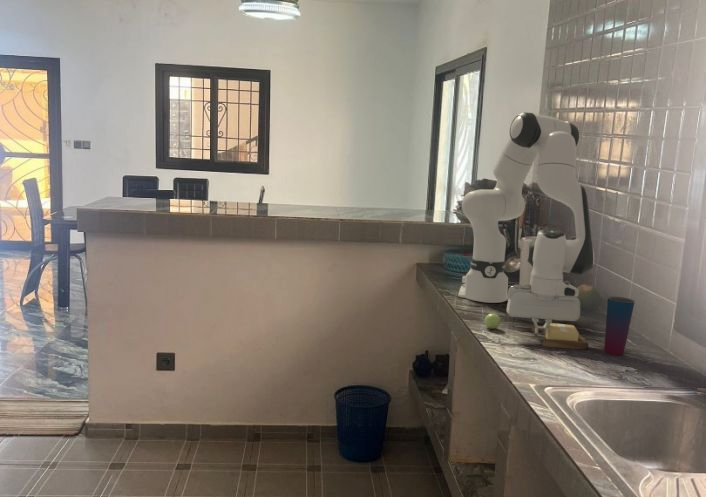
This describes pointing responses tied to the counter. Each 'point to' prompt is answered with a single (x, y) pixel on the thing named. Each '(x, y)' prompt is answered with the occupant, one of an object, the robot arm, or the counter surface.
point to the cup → (617, 324)
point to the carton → (562, 332)
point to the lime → (492, 321)
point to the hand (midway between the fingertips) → (540, 333)
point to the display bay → (565, 342)
